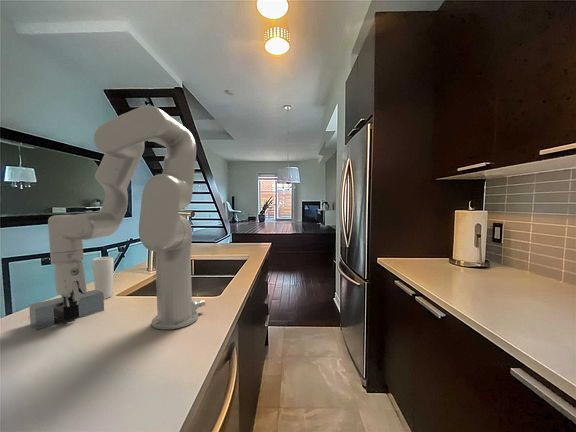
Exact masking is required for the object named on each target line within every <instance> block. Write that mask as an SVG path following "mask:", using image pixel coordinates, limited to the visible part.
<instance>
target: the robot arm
mask: <svg viewBox="0 0 576 432" xmlns="http://www.w3.org/2000/svg"><path fill="white" fill-rule="evenodd" d="M147 141H151V142H153V143H156V144H158V145H161V146H163V147H165V148H166V149H167V151H166V153H165V156H164V158H163V162H162V163H163V164H162V165H163V167H162V173H159V174H155V175H154V176H151V177H150V178H149V180H148V181H147V182H146V183H145V184H144V187H143V189H142V194H141V202H140V211H139V222H138V236H139V240H140V242H141V244H142V245H143V246H144V247H145V249H147V250H149V251H151V252H156V256H155V283H156V285H155V286H156V307H157V308H156V311H157V315H156V316H154V317H153V318H152V320H151V326H152V327H153V328H155V329H157V330H175V329H180V328H184V327H187V326H189V325H191V324H193V323H195V322H196V321H197V320H198V317H199V313H198V312H197V310H198V309H199V308H202V307H204V306H206V301H205V299H202V300H199V301H197V300H193V297H192V296H193V295H192V265H191V264H192V263H191V262H192V261H191V260H192V259H191V258H192V256H191V255H192V254H191V253H192V242H193V241H192V240H193V230H192V225H191V223H190V221H189V220H188V219H187V218H186V217H184V216H183V215H180V214H179V210H183V209H185V208H187V207H188V206H189V205H190V203H192V198H193V192H194V190H193V189H194V180H195V168H196V160H197V159H196V158H197V143H196V140H195V138H194V136H193V134H192V132H191V131H190V130H189V129H187V128H186V126H184V125H182V123H180V122H178V121H177V120H176V119H174V118H173V117H172V116H170V115H169V114H168V113H167V112H165V111H164V110H162V109H160V108H159V107H157V106H154V105H143V106H140V107H137V108H134V109H132V110H129V111H128V112H124V113H122V114H120V115H118V116H115V117H113V118H111V119H109V120H107V121H105V122H104V123H102V124H100V125H99V127H97V129H96V130H95V132H94V133H93V143H94V146H95V147H96V148H97V150H98V151H100V152H101V153H103V154H104V155H103V156H102V159H101V161H100V164H99V166H98V167H97V170H96V172H95V175H94V178H95V180H96V181H97V183H98V184H100V186H101V187H102V189H103V191H104V196H105V197H104V202H103V204H102V206H101V208H100V210H99V212H87V213H85V212H84V213H83V212H82V213H78V214H58V215H57V214H56V215H52V216H50V217H48V220H47V229H48V240H49V241H48V242H49V251H50V252H49V253H50V254H49V255H50V264H51V265H54V286H55V292H56V294H57V295H59V296H61V297H62V301H63V310H64V319H65V320H67V321H68V320H71V319H75V320H76V319H77V318H79V306H78V304H79V300H80V297H79V293H81V294H86V292H88V291H87V290H88V287H87V280H86V272H85V268H84V264H83V261H84V260H85V259H84V248H83V247H84V245H83V241H84V240H85V241H86V240H87V241H88V240H93V239H97V238H98V239H99V238H102V237H108V236H109V237H110V236H111V235H113V234H114V233H116V231H117V230H118V229H119V228H120V225H121V224H122V223H123V221H124V218H125V215H126V213H127V209H128V203H129V193H128V188H129V185H130V182H131V180H132V178H133V176H134V174H135V171H136V169H137V167H138V165H139V163H140V161H141V160H142V159H141V158H142V156H143V154H144V152H145V142H147Z"/></svg>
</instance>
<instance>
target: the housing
mask: <svg viewBox="0 0 576 432" xmlns="http://www.w3.org/2000/svg"><path fill="white" fill-rule="evenodd" d="M79 297H80V300H79V304H78V306H79V317H78V318H82V317H85V316H89V315H93V314H96V313H99V312H100V313H101V312H103V311H105V301H104V300H105V299H104V295H103V292H101V291H98V290H95V289H93V290H89V291H87V292H86V294H81V293H79ZM28 306H29V320H30V321H29V322H30V326H31V327H32V328H33V329H35V330H36V331H37V330H40V329H44V328H48V327H51V326H55V317H54V308H55V307H59V306H63V301H62V296H61V297H57V298H53V299H48V300H44V301H40V302H36V303H35V302H34V303H31V304H29V305H28Z"/></svg>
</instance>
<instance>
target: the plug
mask: <svg viewBox="0 0 576 432" xmlns="http://www.w3.org/2000/svg"><path fill="white" fill-rule="evenodd" d="M55 318H56V319H58V320H60V321H61V322H64V323H66V324H69V323H72V322H75V321H76V318H75V319H71V320H68V321H67V320H65V319H64V310H63V306H59V307H55V308H54V319H55Z"/></svg>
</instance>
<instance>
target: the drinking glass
mask: <svg viewBox="0 0 576 432" xmlns="http://www.w3.org/2000/svg"><path fill="white" fill-rule="evenodd" d="M91 265H92V267H91V268H92V275H93V276H92V277H93V282H94V290H98V291H101V292H103V295H104V300H106V299H110V298H112V297H113V294H114V290H113V289H114V288H113V287H114V273H115V272H114V271H115V270H114V269H115V260H114V257H113V256H100V257H99V256H98V257H94V258H92V261H91Z"/></svg>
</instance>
